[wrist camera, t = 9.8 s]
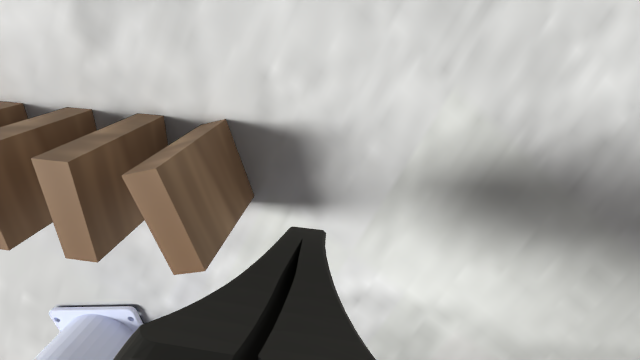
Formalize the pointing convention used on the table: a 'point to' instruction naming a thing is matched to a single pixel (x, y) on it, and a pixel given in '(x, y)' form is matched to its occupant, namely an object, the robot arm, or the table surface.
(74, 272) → the table surface
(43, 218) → the domino
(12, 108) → the domino
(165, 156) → the domino
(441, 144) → the table surface
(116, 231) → the domino
